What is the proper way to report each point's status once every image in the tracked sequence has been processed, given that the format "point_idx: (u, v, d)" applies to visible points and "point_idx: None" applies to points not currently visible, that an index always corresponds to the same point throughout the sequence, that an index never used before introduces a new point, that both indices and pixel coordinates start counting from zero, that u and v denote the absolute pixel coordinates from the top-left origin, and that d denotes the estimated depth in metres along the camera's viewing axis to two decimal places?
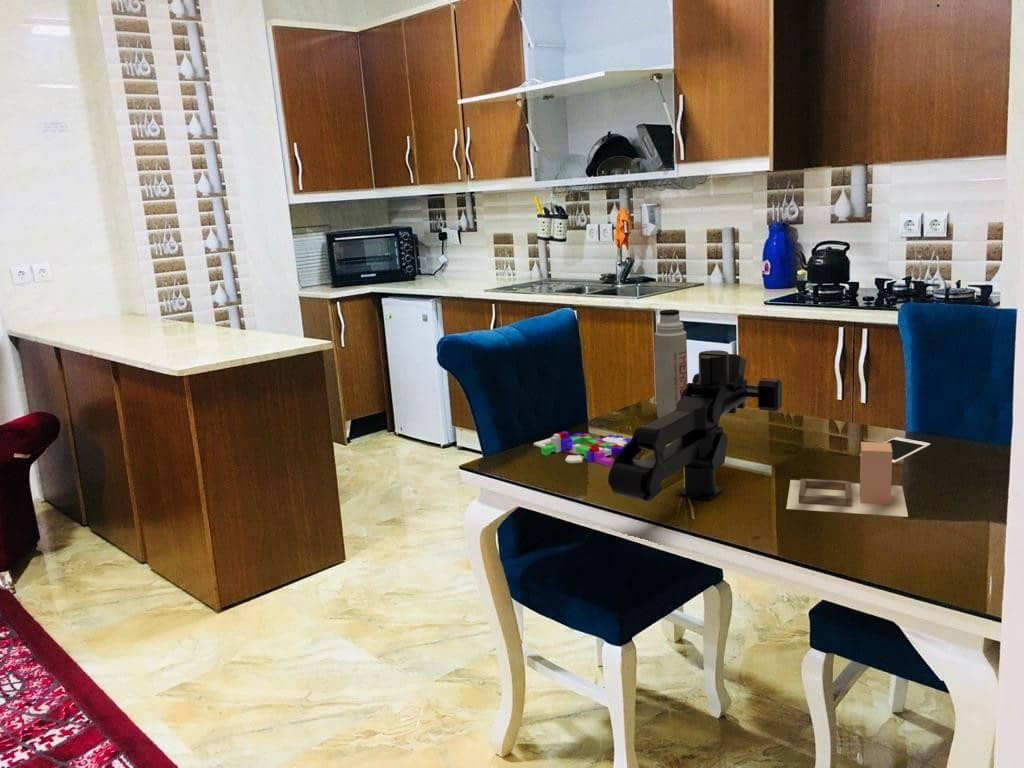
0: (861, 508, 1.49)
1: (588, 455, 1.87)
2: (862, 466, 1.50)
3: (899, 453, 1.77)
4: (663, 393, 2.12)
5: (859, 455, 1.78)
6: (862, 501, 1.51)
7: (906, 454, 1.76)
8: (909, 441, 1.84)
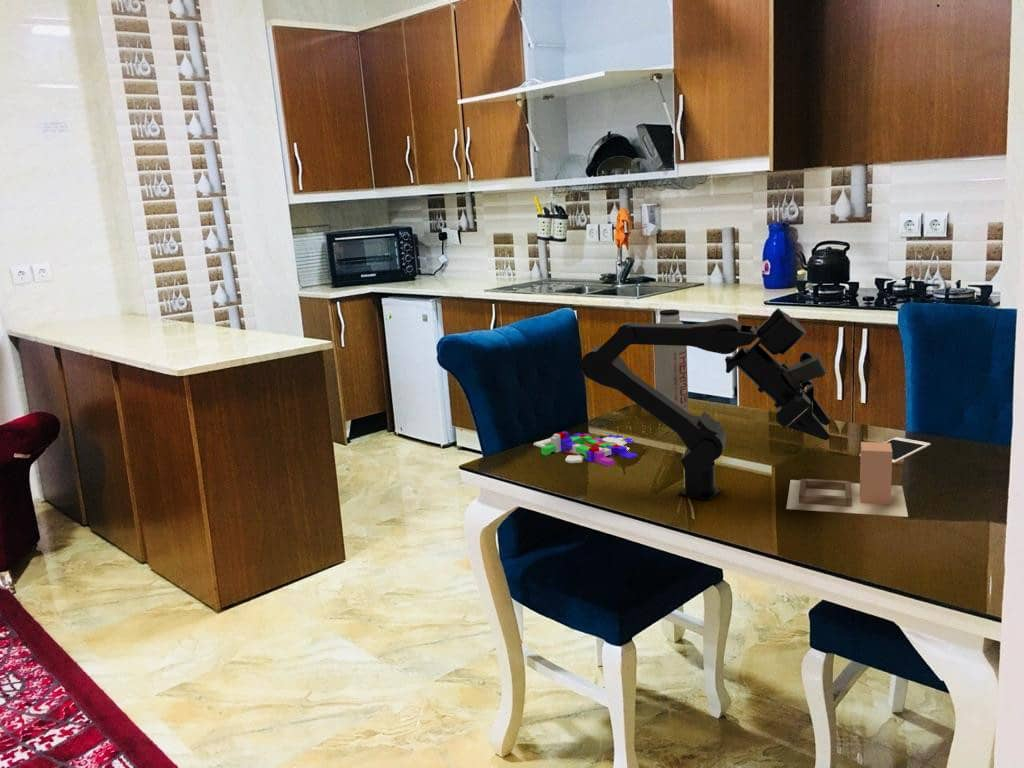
0: (861, 508, 1.49)
1: (588, 455, 1.87)
2: (862, 466, 1.50)
3: (899, 453, 1.77)
4: (663, 393, 2.12)
5: (859, 455, 1.78)
6: (862, 501, 1.51)
7: (906, 454, 1.76)
8: (909, 441, 1.84)
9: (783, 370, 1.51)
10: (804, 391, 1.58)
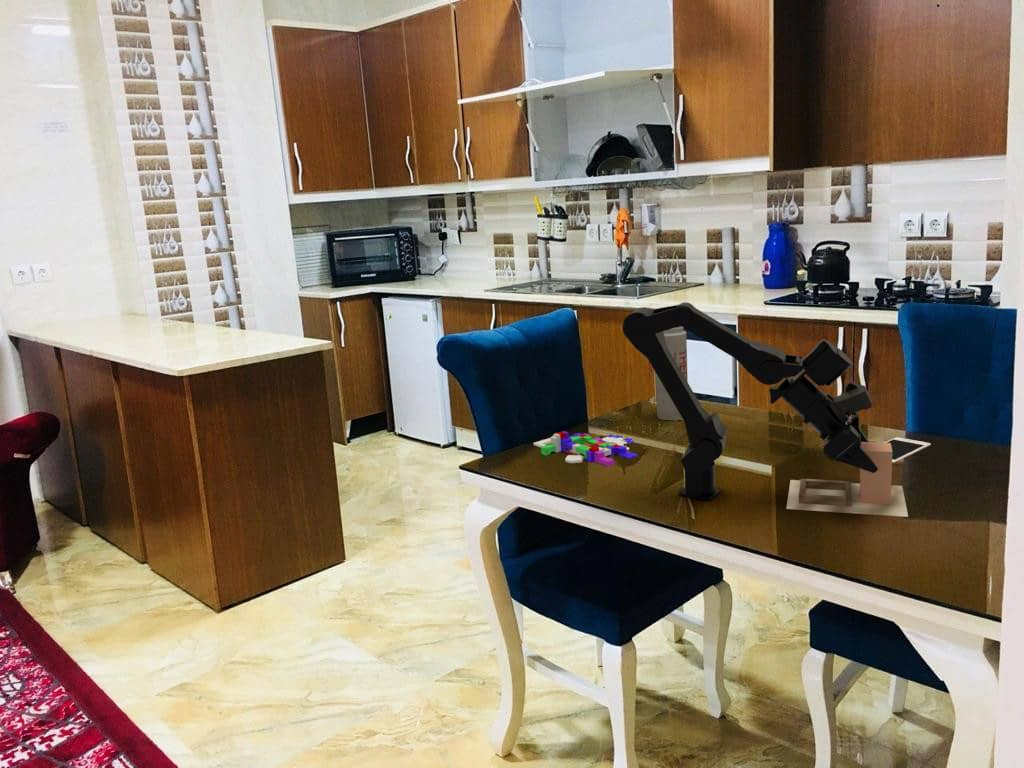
0: (861, 508, 1.49)
1: (588, 455, 1.87)
2: None
3: (899, 453, 1.77)
4: (663, 393, 2.12)
5: None
6: (862, 501, 1.51)
7: (906, 454, 1.76)
8: (910, 441, 1.84)
9: (829, 401, 1.49)
10: (849, 421, 1.56)
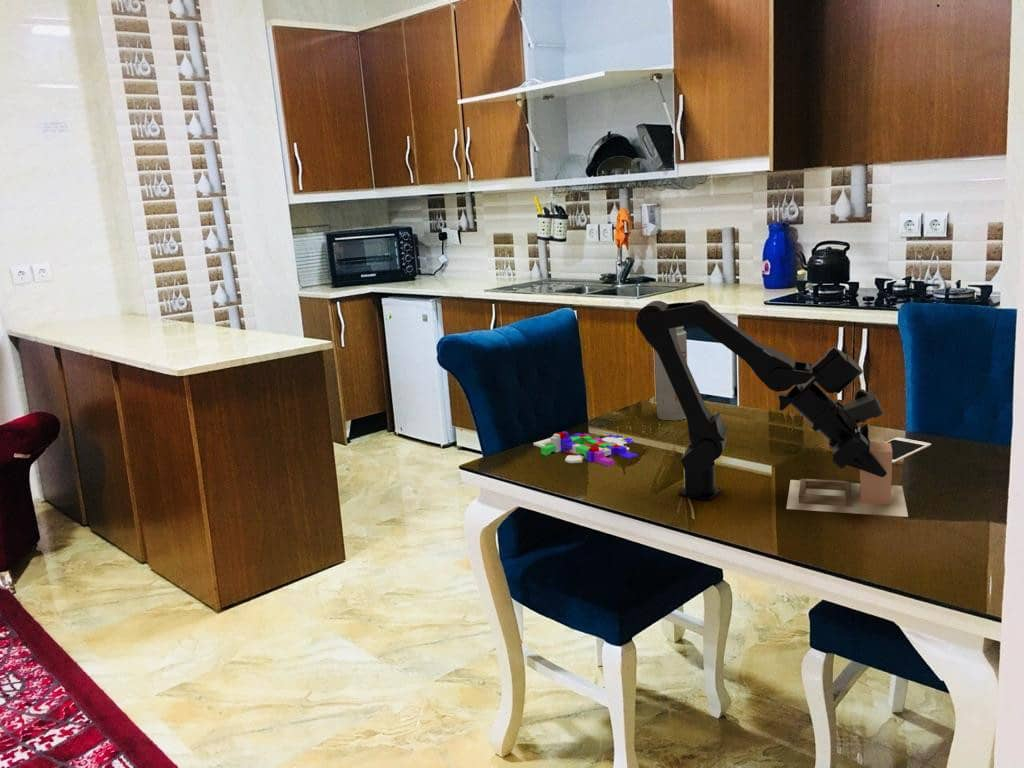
0: (861, 508, 1.49)
1: (588, 455, 1.87)
2: None
3: (899, 453, 1.77)
4: (663, 393, 2.12)
5: None
6: (862, 501, 1.51)
7: (906, 454, 1.76)
8: (910, 441, 1.84)
9: (839, 409, 1.49)
10: (858, 432, 1.54)
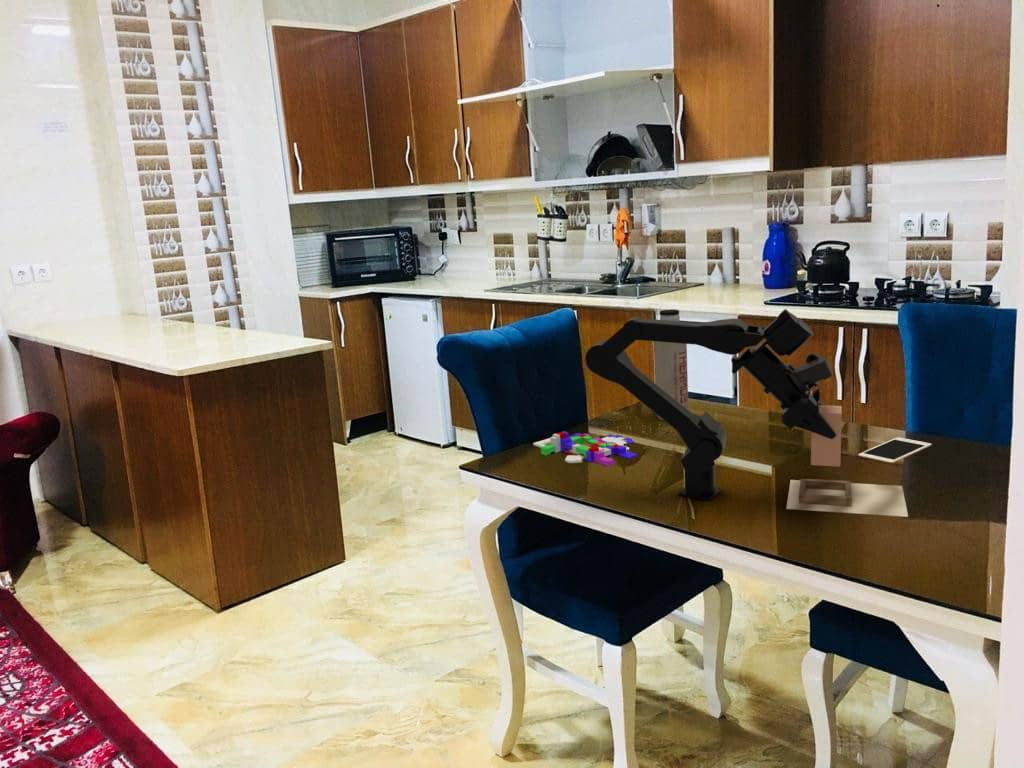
0: (861, 508, 1.49)
1: (588, 455, 1.87)
2: None
3: (898, 453, 1.77)
4: None
5: None
6: (812, 463, 1.52)
7: (905, 454, 1.76)
8: (911, 441, 1.84)
9: (789, 371, 1.50)
10: (810, 395, 1.56)
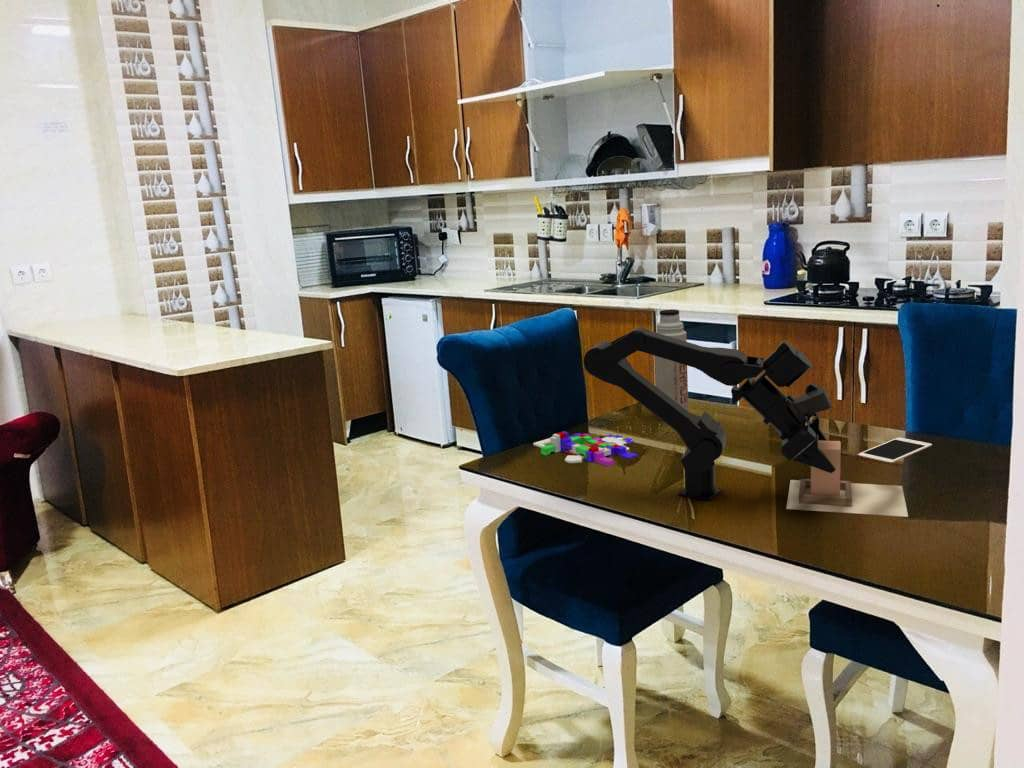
0: (861, 508, 1.49)
1: (588, 455, 1.87)
2: None
3: (898, 453, 1.77)
4: None
5: (858, 454, 1.79)
6: None
7: (905, 454, 1.76)
8: (911, 441, 1.84)
9: (789, 403, 1.51)
10: (809, 422, 1.59)
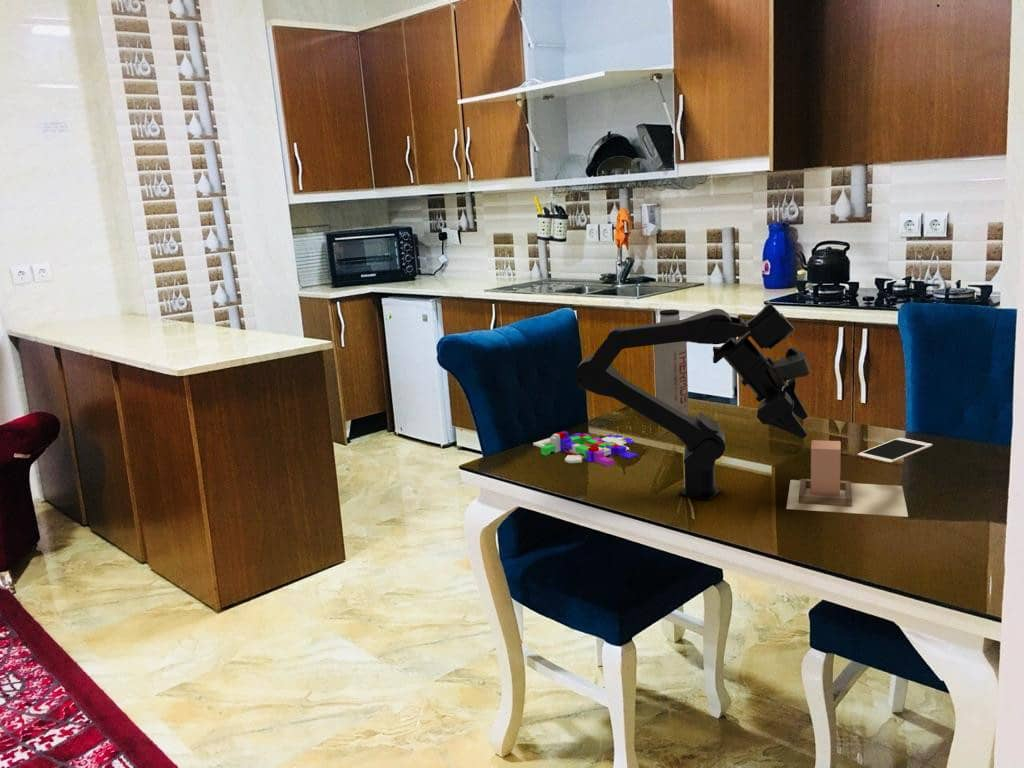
0: (861, 508, 1.49)
1: (588, 455, 1.87)
2: (812, 464, 1.53)
3: (898, 453, 1.77)
4: (663, 393, 2.12)
5: None
6: None
7: (905, 454, 1.76)
8: (912, 441, 1.84)
9: (768, 366, 1.52)
10: (786, 384, 1.60)
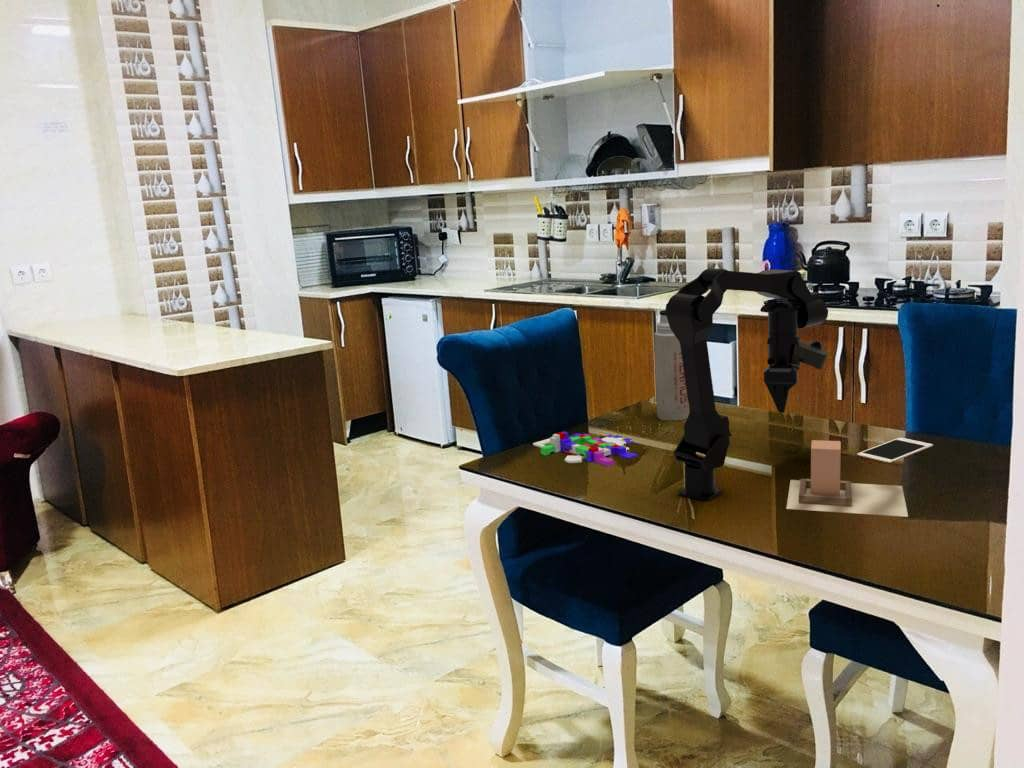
0: (861, 508, 1.49)
1: (587, 455, 1.87)
2: (812, 464, 1.53)
3: (898, 453, 1.77)
4: (663, 393, 2.12)
5: (857, 454, 1.79)
6: None
7: (904, 454, 1.76)
8: (912, 442, 1.83)
9: (797, 342, 1.66)
10: None
